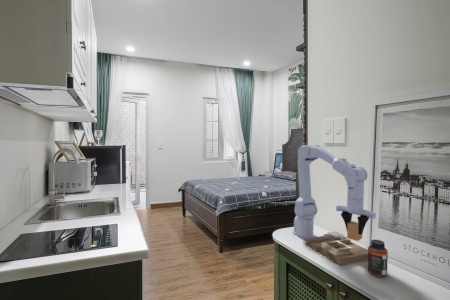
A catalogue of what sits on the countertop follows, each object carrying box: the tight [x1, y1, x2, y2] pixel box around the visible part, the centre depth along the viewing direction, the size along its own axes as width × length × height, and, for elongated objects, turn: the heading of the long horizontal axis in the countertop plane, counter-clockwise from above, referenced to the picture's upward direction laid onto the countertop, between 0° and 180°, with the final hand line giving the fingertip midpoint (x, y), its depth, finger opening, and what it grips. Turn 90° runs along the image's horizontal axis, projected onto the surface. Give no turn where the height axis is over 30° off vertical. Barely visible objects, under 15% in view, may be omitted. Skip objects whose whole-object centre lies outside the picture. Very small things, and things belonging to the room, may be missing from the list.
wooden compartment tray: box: [305, 233, 368, 266], centre depth 110 cm, size 21×16×4 cm
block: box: [326, 231, 344, 241], centre depth 114 cm, size 4×4×3 cm
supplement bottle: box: [367, 239, 389, 278], centre depth 91 cm, size 6×6×11 cm
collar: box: [322, 240, 353, 256], centre depth 104 cm, size 8×8×2 cm
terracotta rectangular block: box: [346, 220, 363, 242], centre depth 104 cm, size 4×4×6 cm
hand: (354, 232), depth 104 cm, fingers closed on terracotta rectangular block, 4 cm apart
